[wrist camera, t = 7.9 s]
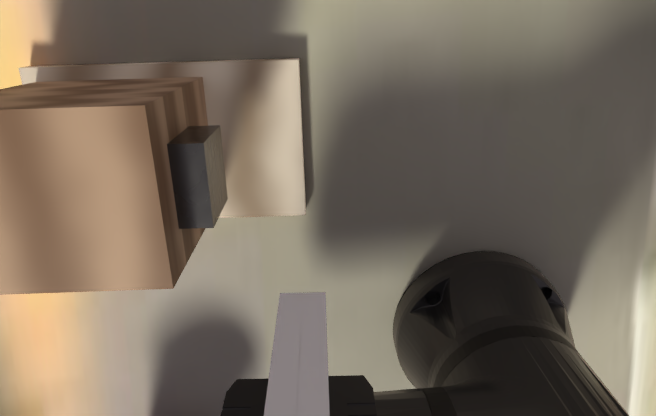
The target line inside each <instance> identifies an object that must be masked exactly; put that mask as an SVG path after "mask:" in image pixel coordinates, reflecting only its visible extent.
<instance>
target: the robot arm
mask: <svg viewBox="0 0 656 416" xmlns="http://www.w3.org/2000/svg"><path fill="white" fill-rule="evenodd" d="M393 338H394V343H395V348H396V352H397V356H398V359H399V362H400V365H401V367H402V369H403V371H404V373H405V375H406V376H407V378H408V379H409V381H410V382H411V383H412V384H413V385H414V386H415V388H416V389H406V390H394V391H382V392H373V388H372V386H371V385H370V384H369V382H368V381H367V380H366V378H365V377H364V376H363V375H360V376H328V353H327V324H326V294H325V292H312V293H280V298H279V306H278V313H277V320H276V328H275V335H274V343H273V350H272V357H271V365H270V372H269V379H237V380H236V381H235V382H234V384H233V385H232V386H231V387H230V388H229V390H228V391H227V392H226V396H225V400H224V404H223V410H222V412H221V416H629V415H628V413H627V412H626V411H625V410H624V409H623V407H622V406H621V405H620V404H619V402H618V401H617V400H616V399H615V397H614V396H613V395H612V394H611V392H610V391H609V390H608V389H607V387H606V386H605V385H604V384H603V382H602V381H601V380H600V379H599V377H598V376H597V375H596V374H595V372H594V371H593V370H592V369H591V367H590V366H589V365H588V364H587V362H586V361H585V360H584V359H583V358H582V356H581V355H580V354H579V353H578V351H577V350H576V349H575V345H574V340H573V336H572V332H571V328H570V324H569V320H568V316H567V312H566V309H565V306H564V304H563V301H562V299H561V298H560V296H559V294H558V293H557V291H556V290H555V288H554V287H553V286H552V285H551V284H550V283H549V281H548V280H547V279H546V278H545V277H544V276H543V275H542V274H541V273H540V272H539V271H538V270H537V269H536V268H535V267H533V266H532V265H531V264H529V263H527V262H526V261H524V260H522V259H520V258H517V257H514V256H511V255H508V254H504V253H498V252H472V253H466V254H462V255H458V256H455V257H452V258H449V259H447V260H444V261H442V262H440V263H438V264H436V265H435V266H433V267H431V268H430V269H428V270H427V271H426V272H424V273H423V274H422V275H421V276H419V277H418V278H417V279H416V280H415V281H414V282H413V283H412V284H411V286H410V287H409V288H408V289H407V291H406V292H405V294H404V295H403V297H402V299H401V301H400V303H399V305H398V307H397V310H396V313H395V317H394V323H393Z"/></svg>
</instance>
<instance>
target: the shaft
mask: <svg viewBox="0 0 656 416" xmlns="http://www.w3.org/2000/svg"><path fill="white" fill-rule="evenodd" d="M167 149H168V156H169V163H170V170H171V177H172V184H173V191H174V198H175V205H176V212H177V219H178V226H179V229H191V228H214V226H215V224H216V222H217V220H218V218H219V216H220V214H221V212H222V210H223V208H224V206H225V204H226V202H227V200H228V196H227V186H226V177H225V167H224V157H223V148H222V138H221V128H220V125H210V126H188V127H187V128H186V129H185V130H184V131H182V132H181V133H180V134H179V135H177V136H176V137H175V138H174V139H173V140H171V141H170V142H169V143H168V144H167Z"/></svg>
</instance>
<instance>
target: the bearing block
mask: <svg viewBox="0 0 656 416" xmlns="http://www.w3.org/2000/svg"><path fill="white" fill-rule="evenodd" d="M19 72H20V76H21V80H22V85H19V86H14V87H10V88H5V89H1V90H0V295H1V294H30V293H59V292H87V291H116V290H145V289H173V288H174V286H175V284H176V282H177V281H178V279H179V277H180V275H181V273H182V271H183V269H184V267H185V266H186V264H187V262H188V260H189V258H190V256H191V254H192V252H193V251H194V249H195V247H196V245H197V243H198V241H199V239H200V237H201V236H202V234H203V232H204V230H205V228H191V229H179V226H178V219H177V212H176V205H175V198H174V191H173V184H172V177H171V170H170V163H169V156H168V149H167V144H168V143H169V142H170V141H171V140H173V139H174V138H175V137H176V136H177V135H179V134H180V133H181V132H182V131H184V130H185V129H186V128H187V127H188V126H210V125H220V128H221V138H222V148H223V157H224V167H225V177H226V186H227V196H228V200H227V202H226V204H225V206H224V208H223V210H222V212H221V214H220V216H219V218H230V217H260V216H290V215H306V195H305V173H304V151H303V129H302V107H301V85H300V63H299V58H288V59H254V60H220V61H186V62H153V63H119V64H85V65H51V66H27V67H21V68H19Z"/></svg>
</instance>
